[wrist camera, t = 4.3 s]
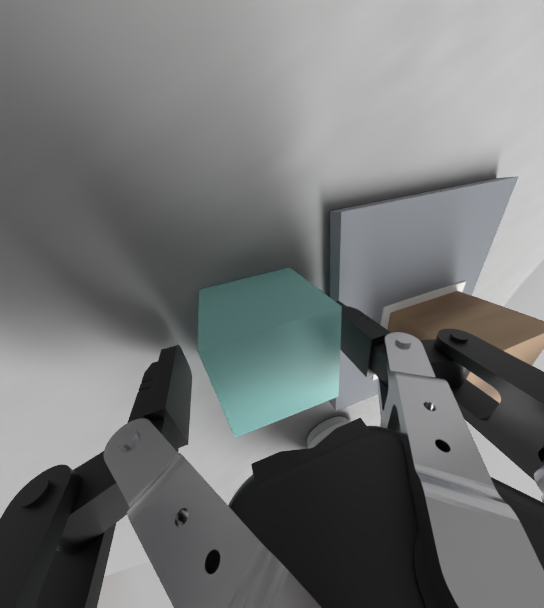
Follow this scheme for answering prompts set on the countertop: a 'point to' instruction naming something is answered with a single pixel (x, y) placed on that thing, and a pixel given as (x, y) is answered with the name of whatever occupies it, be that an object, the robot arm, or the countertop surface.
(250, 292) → the teal block
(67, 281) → the countertop surface
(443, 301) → the base block
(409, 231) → the mat
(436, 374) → the robot arm
